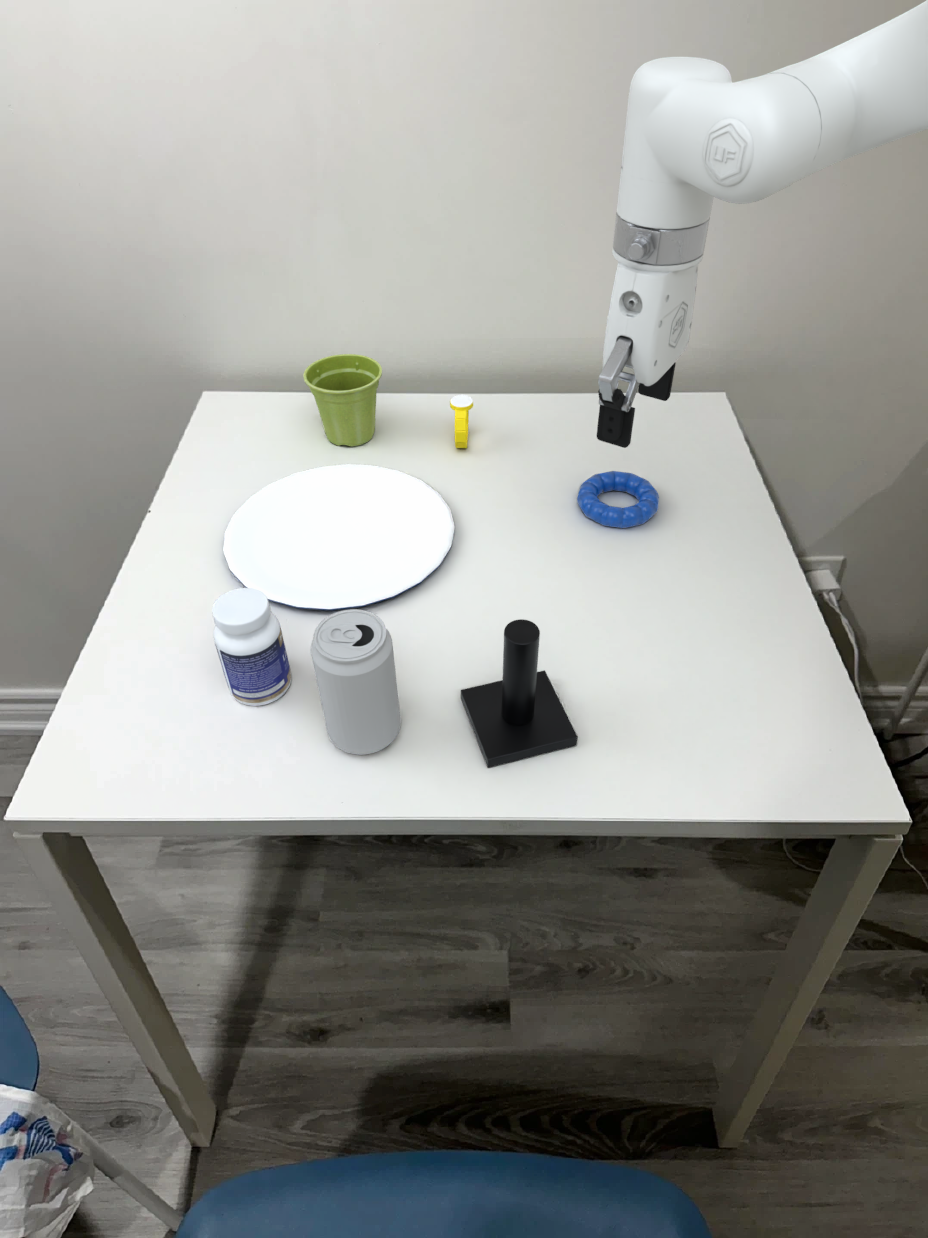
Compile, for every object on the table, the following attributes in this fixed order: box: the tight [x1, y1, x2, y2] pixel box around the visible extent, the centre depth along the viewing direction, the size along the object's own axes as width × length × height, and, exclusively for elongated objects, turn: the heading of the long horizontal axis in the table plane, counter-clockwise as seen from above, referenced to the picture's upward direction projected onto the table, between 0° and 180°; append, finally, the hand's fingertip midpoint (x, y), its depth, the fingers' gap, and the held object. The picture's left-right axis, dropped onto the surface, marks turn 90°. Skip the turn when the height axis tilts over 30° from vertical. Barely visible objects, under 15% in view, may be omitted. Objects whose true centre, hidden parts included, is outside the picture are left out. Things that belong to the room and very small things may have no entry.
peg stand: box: [460, 618, 579, 769], centre depth 70 cm, size 8×8×11 cm
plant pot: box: [302, 353, 383, 447], centre depth 105 cm, size 9×9×9 cm
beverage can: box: [310, 608, 402, 756], centre depth 70 cm, size 6×6×12 cm
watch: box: [449, 394, 474, 449], centre depth 104 cm, size 6×3×6 cm, turn 177°
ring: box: [576, 470, 660, 529], centre depth 96 cm, size 9×9×2 cm
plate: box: [222, 463, 456, 611], centre depth 93 cm, size 25×25×1 cm
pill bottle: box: [211, 587, 292, 707], centre depth 74 cm, size 6×6×10 cm
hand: (633, 418), depth 82 cm, fingers open, 9 cm apart
